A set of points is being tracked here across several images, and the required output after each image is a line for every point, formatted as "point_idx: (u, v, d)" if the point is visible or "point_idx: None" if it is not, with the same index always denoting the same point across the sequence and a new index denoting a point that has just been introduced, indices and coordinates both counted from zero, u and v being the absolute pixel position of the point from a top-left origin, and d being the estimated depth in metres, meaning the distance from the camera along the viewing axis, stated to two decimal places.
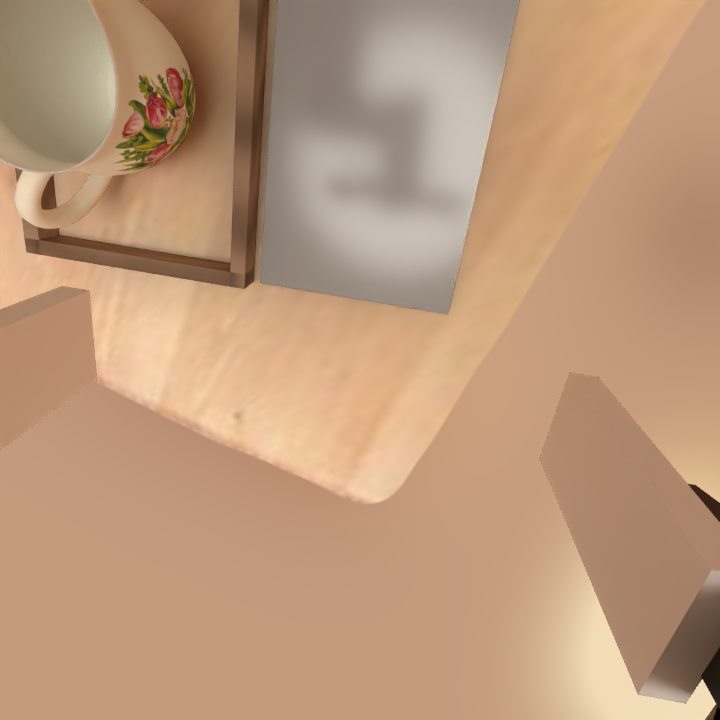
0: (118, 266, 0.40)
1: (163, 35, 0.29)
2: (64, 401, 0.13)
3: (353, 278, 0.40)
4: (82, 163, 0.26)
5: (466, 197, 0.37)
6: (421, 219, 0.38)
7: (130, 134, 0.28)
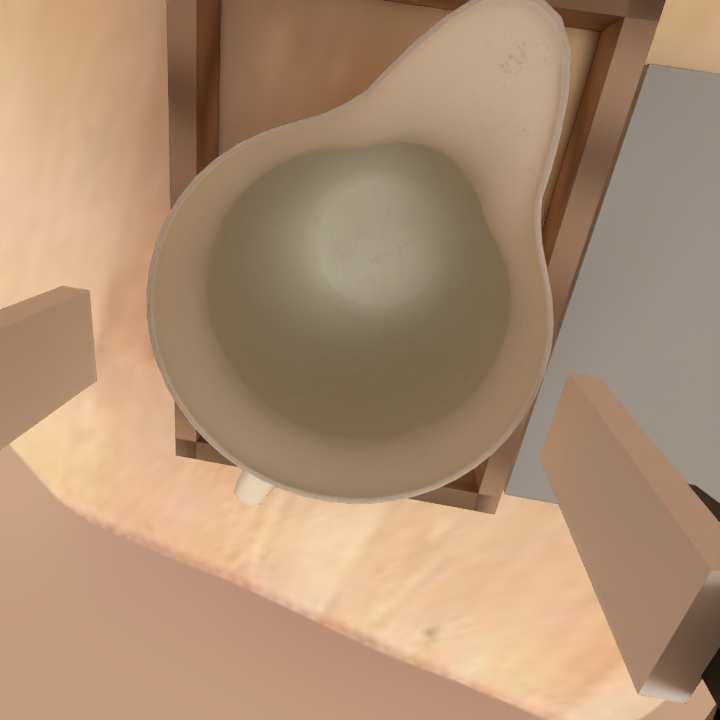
0: None
1: None
2: (64, 401, 0.13)
3: None
4: (419, 493, 0.14)
5: None
6: None
7: (464, 400, 0.16)
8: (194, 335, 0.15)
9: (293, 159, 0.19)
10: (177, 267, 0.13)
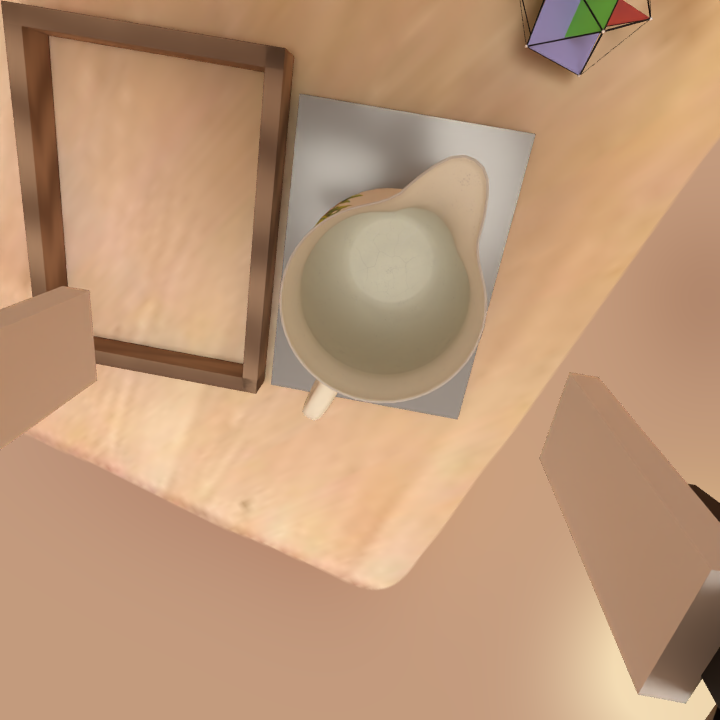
0: (130, 368, 0.40)
1: None
2: (64, 401, 0.13)
3: None
4: (419, 396, 0.26)
5: None
6: None
7: None
8: (295, 308, 0.26)
9: None
10: (293, 270, 0.25)
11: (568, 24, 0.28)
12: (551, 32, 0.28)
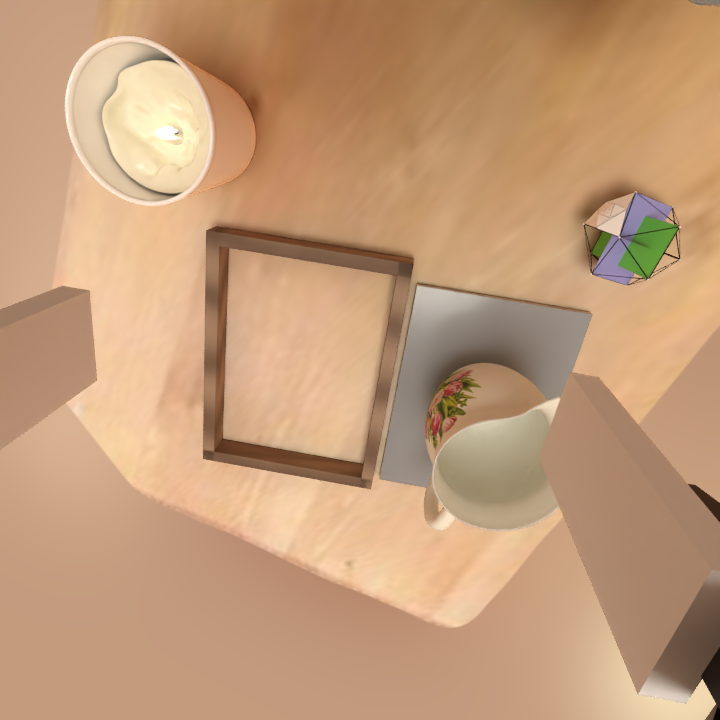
0: (274, 470, 0.52)
1: None
2: (64, 401, 0.13)
3: None
4: (523, 527, 0.38)
5: None
6: None
7: (536, 488, 0.40)
8: (436, 466, 0.38)
9: (455, 376, 0.43)
10: (440, 447, 0.37)
11: (620, 257, 0.40)
12: (608, 264, 0.39)
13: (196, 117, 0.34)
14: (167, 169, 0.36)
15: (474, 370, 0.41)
